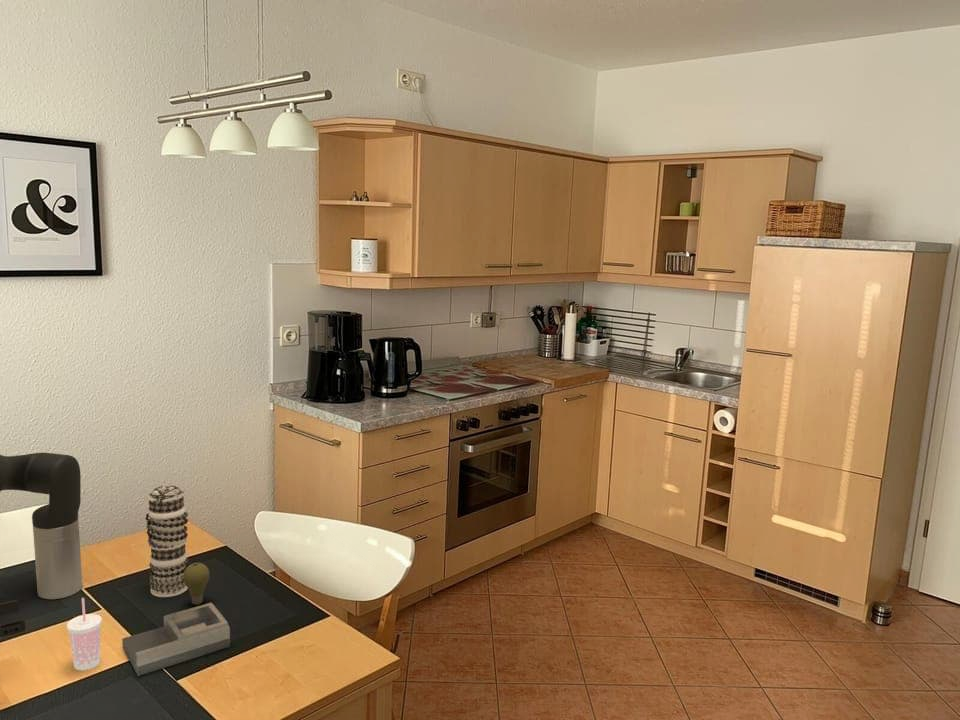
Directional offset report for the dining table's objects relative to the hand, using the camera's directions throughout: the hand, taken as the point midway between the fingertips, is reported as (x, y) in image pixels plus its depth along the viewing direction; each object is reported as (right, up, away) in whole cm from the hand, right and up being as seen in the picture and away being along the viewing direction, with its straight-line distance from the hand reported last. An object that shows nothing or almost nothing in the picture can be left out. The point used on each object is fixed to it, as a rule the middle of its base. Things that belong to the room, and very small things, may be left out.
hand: (21, 614), depth 139 cm
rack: (+23, -12, +16) cm, 30 cm away
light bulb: (+20, -9, +33) cm, 40 cm away
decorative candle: (+11, -7, +39) cm, 42 cm away
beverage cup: (+7, -13, +9) cm, 17 cm away
